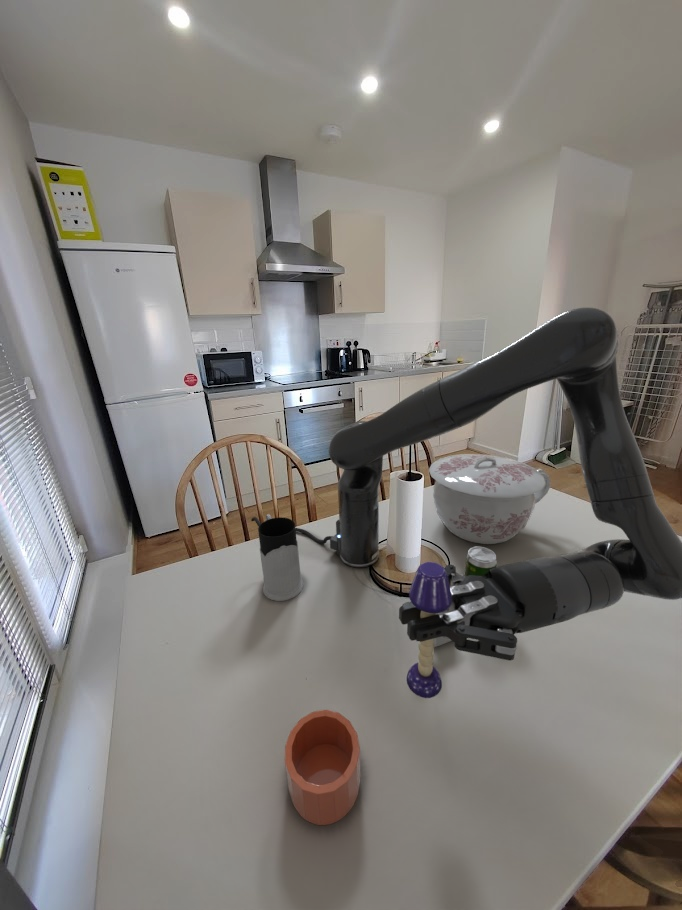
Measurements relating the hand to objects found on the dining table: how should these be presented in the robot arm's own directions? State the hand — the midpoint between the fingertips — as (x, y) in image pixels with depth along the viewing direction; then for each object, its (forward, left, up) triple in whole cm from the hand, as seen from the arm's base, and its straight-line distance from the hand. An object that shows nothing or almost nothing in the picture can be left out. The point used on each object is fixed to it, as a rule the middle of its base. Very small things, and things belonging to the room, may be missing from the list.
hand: (404, 623), depth 40 cm
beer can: (0, +31, -22) cm, 38 cm away
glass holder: (-38, +14, -22) cm, 46 cm away
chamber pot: (-8, +59, -22) cm, 64 cm away
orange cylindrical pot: (-6, -9, -21) cm, 24 cm away
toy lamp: (+2, +2, -10) cm, 11 cm away
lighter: (-3, +18, -22) cm, 29 cm away
